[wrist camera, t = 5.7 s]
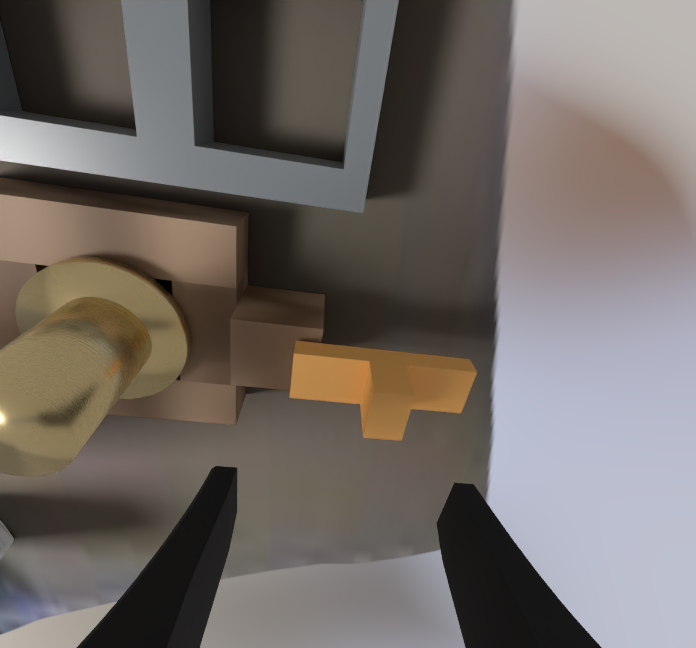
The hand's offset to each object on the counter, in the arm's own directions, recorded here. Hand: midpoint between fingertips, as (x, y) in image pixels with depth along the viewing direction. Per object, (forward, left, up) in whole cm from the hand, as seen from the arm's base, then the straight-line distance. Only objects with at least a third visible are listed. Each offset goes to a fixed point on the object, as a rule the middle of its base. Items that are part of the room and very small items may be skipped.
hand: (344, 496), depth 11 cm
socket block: (-8, 0, -10) cm, 13 cm away
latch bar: (+2, 0, -7) cm, 7 cm away
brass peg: (-10, 0, -10) cm, 15 cm away
